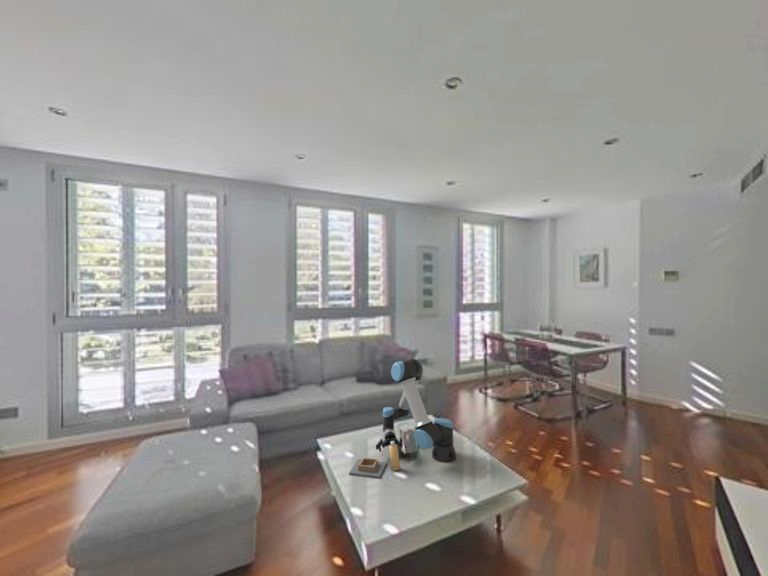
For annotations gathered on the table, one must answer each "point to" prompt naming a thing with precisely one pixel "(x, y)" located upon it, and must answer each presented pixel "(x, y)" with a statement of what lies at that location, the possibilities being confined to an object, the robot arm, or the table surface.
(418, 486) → the table surface
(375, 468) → the dock
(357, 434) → the table surface
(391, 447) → the yellow bottle
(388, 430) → the robot arm
